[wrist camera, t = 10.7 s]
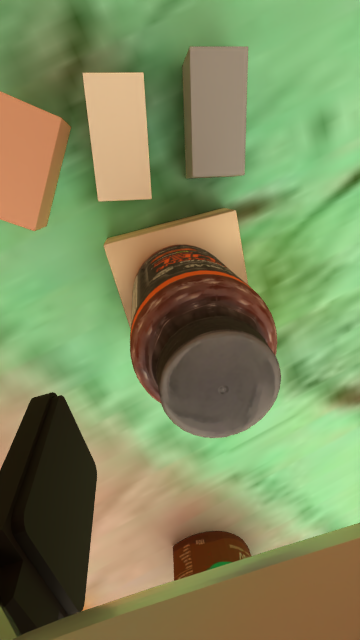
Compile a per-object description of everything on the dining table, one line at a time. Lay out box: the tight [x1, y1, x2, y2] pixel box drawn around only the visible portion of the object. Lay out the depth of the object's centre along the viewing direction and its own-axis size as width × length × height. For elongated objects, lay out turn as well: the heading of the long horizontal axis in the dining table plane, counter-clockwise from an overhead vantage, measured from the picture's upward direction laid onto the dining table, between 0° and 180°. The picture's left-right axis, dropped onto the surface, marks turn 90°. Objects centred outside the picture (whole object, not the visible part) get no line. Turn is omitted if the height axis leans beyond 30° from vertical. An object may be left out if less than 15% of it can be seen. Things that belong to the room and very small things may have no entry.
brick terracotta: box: [0, 92, 71, 231], centre depth 19 cm, size 6×3×3 cm, turn 159°
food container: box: [173, 531, 251, 581], centre depth 30 cm, size 12×6×10 cm, turn 45°
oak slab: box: [104, 208, 248, 329], centre depth 22 cm, size 8×8×3 cm
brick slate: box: [182, 47, 248, 178], centre depth 19 cm, size 6×3×3 cm, turn 2°
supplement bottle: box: [130, 244, 281, 438], centre depth 16 cm, size 6×6×11 cm
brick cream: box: [83, 73, 152, 201], centre depth 19 cm, size 6×3×3 cm, turn 2°
